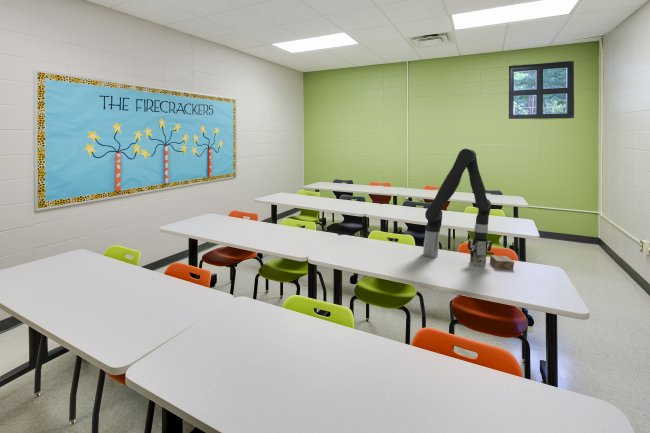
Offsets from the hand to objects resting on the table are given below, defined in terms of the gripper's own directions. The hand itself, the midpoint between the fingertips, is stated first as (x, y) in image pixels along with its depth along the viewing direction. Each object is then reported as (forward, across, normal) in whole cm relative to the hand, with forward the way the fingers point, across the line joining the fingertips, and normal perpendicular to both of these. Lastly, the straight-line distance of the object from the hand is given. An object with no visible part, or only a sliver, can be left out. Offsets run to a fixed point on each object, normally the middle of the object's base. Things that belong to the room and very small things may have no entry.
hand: (478, 256), depth 219 cm
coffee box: (+5, 0, 0) cm, 5 cm away
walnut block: (+5, +14, 0) cm, 15 cm away
